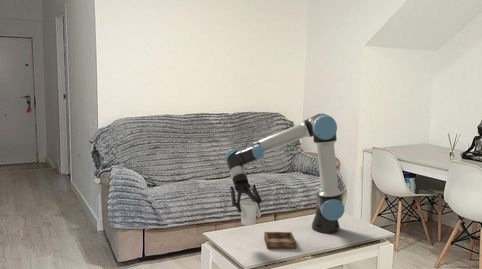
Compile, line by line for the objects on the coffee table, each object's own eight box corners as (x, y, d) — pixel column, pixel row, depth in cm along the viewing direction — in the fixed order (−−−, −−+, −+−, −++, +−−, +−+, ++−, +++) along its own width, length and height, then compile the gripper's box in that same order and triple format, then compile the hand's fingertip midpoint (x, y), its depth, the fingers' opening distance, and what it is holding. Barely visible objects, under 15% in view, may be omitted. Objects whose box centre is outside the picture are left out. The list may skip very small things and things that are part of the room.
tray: (291, 238, 225) (291, 232, 224) (295, 249, 211) (296, 242, 210) (264, 238, 224) (264, 231, 223) (267, 248, 210) (267, 241, 210)
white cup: (244, 226, 206) (245, 206, 205) (237, 221, 214) (238, 201, 212) (259, 225, 210) (260, 204, 208) (252, 220, 217) (252, 200, 215)
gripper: (255, 179, 227) (268, 218, 215) (218, 182, 219) (229, 223, 207) (259, 171, 222) (273, 211, 209) (222, 174, 214) (234, 215, 201)
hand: (251, 217), depth 208 cm, fingers closed on white cup, 8 cm apart
